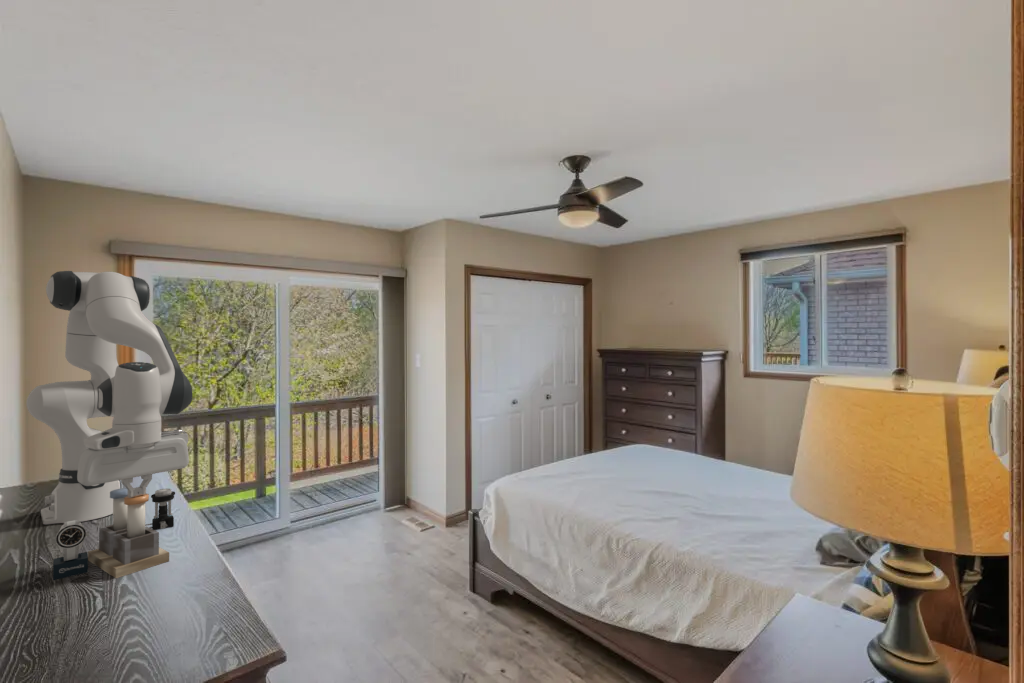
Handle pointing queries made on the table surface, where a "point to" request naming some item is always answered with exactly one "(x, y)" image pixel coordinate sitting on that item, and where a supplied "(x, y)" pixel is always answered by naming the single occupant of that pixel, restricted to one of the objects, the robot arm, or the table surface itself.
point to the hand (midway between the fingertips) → (136, 496)
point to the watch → (70, 551)
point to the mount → (127, 551)
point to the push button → (162, 509)
